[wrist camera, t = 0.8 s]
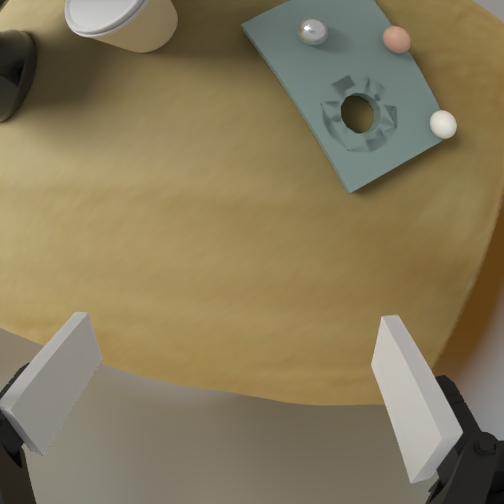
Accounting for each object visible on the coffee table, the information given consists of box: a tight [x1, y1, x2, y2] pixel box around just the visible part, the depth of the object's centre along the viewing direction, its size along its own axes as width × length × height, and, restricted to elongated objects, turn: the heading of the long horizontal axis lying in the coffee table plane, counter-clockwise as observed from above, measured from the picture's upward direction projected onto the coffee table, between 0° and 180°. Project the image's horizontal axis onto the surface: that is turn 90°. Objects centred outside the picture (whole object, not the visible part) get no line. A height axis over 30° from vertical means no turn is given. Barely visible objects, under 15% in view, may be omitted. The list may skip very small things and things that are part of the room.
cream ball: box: [430, 110, 457, 139], centre depth 28 cm, size 3×3×3 cm
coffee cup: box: [64, 0, 178, 53], centre depth 23 cm, size 9×9×12 cm
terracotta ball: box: [382, 26, 411, 53], centre depth 25 cm, size 3×3×3 cm
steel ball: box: [297, 17, 328, 45], centre depth 25 cm, size 3×3×3 cm
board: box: [241, 0, 445, 193], centre depth 29 cm, size 22×15×2 cm
